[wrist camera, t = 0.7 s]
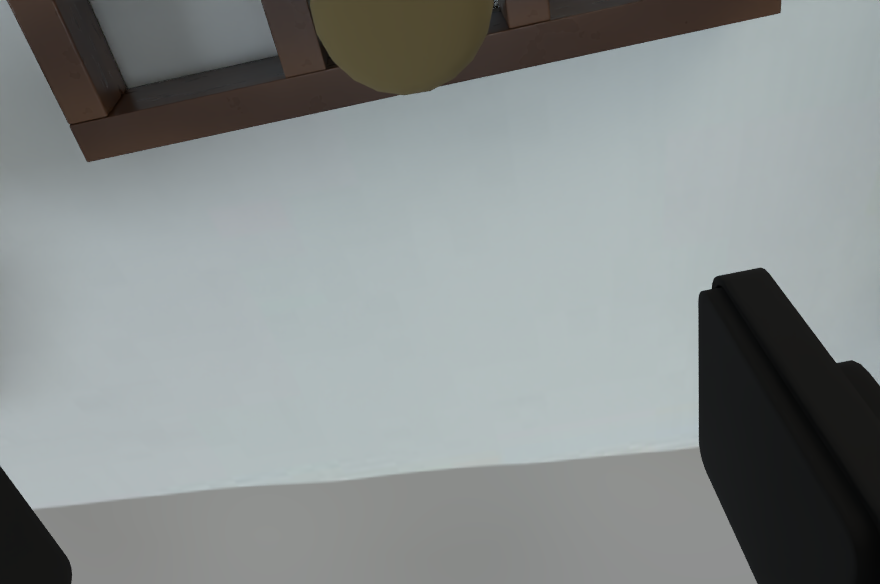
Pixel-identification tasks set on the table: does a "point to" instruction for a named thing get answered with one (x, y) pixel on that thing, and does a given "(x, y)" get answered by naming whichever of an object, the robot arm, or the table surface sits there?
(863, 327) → the table surface
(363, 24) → the olive pawn
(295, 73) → the holder
